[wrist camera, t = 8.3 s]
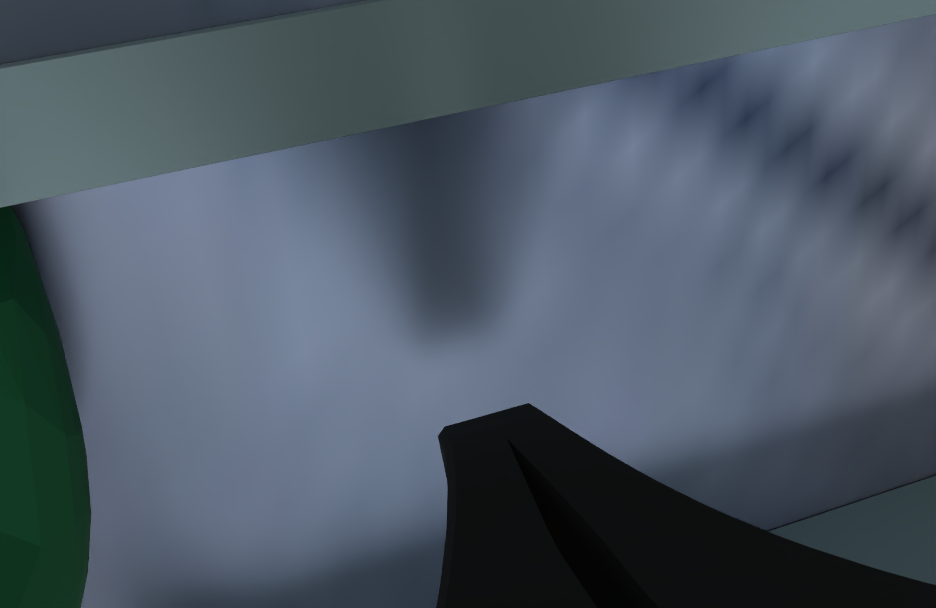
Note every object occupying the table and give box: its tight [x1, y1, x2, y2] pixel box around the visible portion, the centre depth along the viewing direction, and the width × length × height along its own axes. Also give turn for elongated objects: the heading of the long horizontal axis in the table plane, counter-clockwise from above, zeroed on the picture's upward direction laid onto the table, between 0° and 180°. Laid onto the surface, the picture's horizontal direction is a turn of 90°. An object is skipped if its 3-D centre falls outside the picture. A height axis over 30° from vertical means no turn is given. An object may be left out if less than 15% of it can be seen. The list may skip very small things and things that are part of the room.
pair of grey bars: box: [0, 0, 936, 585], centre depth 11 cm, size 18×12×3 cm
